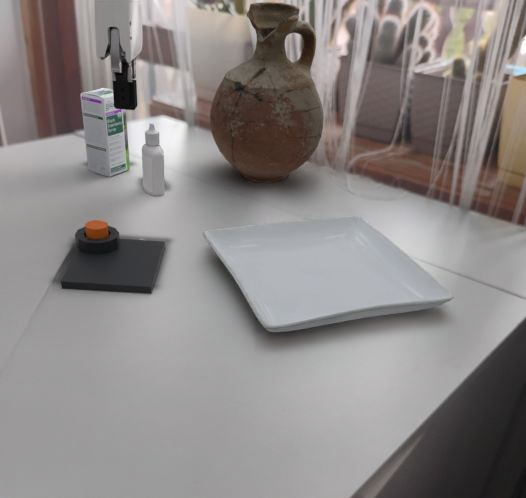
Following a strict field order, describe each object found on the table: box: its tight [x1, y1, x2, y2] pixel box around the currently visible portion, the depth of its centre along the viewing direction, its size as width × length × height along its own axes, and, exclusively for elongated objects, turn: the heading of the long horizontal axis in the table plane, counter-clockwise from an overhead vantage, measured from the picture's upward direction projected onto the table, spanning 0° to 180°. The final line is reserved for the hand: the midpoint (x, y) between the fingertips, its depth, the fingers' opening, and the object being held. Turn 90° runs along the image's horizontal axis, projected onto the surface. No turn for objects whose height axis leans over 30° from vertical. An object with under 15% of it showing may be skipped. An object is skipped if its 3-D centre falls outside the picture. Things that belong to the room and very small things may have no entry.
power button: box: [84, 219, 109, 239], centre depth 91 cm, size 3×3×2 cm
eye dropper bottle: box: [141, 122, 166, 197], centre depth 111 cm, size 4×6×12 cm
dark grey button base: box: [60, 225, 166, 295], centre depth 89 cm, size 12×14×3 cm
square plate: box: [202, 215, 455, 333], centre depth 89 cm, size 27×27×4 cm
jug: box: [209, 1, 325, 183], centre depth 117 cm, size 22×22×30 cm
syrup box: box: [79, 87, 131, 178], centre depth 117 cm, size 6×6×14 cm
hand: (125, 107), depth 95 cm, fingers closed
